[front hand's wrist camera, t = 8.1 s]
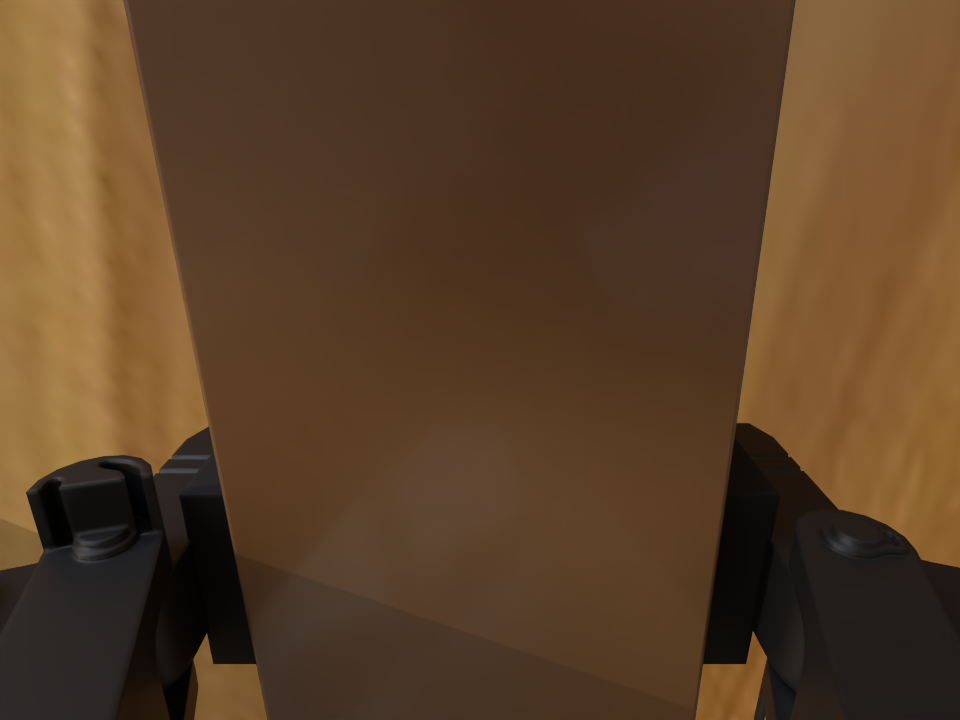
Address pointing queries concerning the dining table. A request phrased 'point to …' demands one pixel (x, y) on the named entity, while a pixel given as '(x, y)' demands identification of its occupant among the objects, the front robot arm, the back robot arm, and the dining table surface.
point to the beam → (469, 333)
